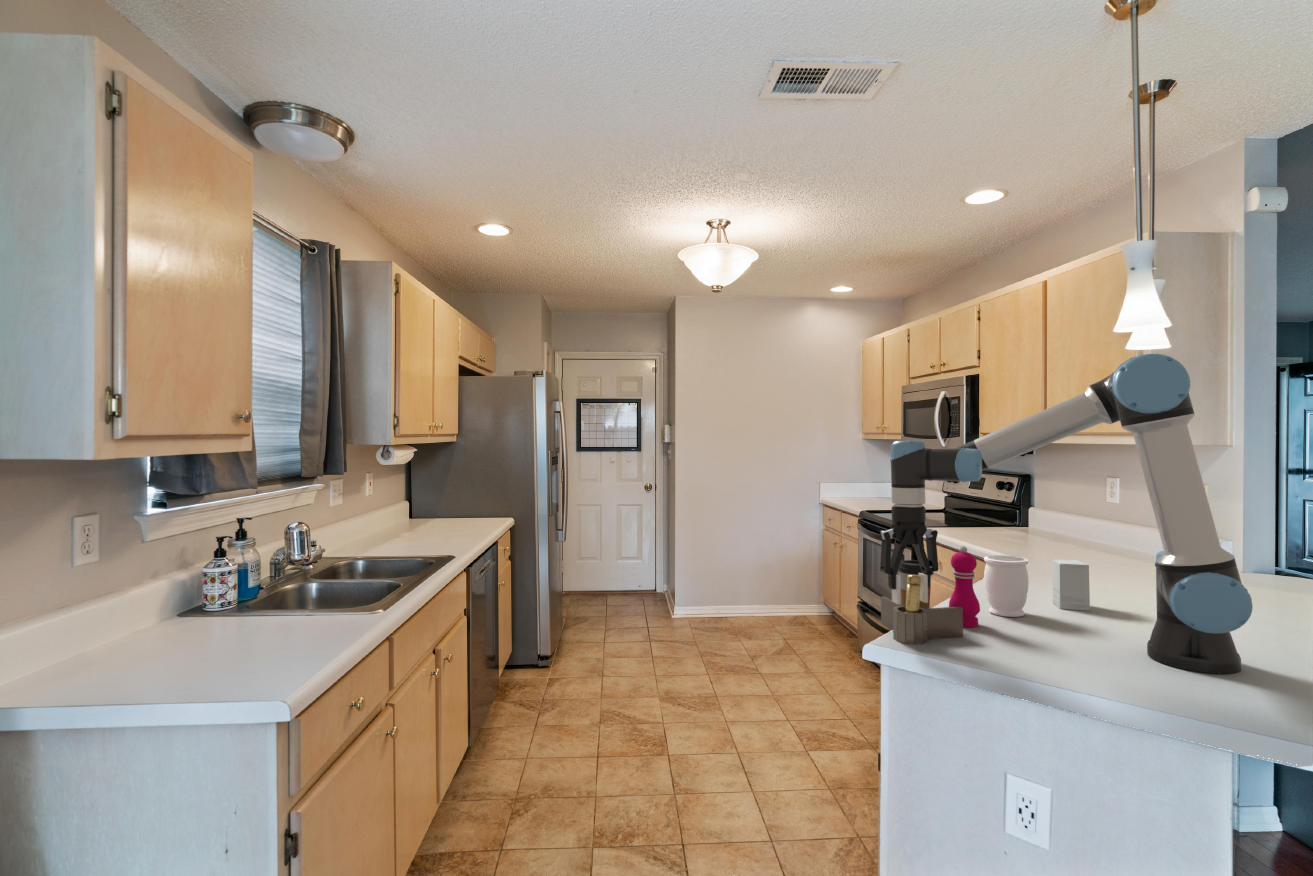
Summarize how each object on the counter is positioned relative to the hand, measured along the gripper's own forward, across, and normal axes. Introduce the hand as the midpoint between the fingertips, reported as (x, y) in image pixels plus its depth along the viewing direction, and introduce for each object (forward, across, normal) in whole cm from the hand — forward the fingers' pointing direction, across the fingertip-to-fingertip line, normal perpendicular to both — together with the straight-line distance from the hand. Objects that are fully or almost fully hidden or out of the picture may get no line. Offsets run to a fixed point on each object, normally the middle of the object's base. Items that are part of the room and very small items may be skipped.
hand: (909, 601), depth 150 cm
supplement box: (+9, -59, -19) cm, 63 cm away
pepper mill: (+9, -20, -9) cm, 24 cm away
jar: (+9, -37, -16) cm, 41 cm away
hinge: (+9, -5, -5) cm, 11 cm away
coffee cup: (+9, -10, -15) cm, 20 cm away
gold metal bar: (+9, 0, 0) cm, 9 cm away
